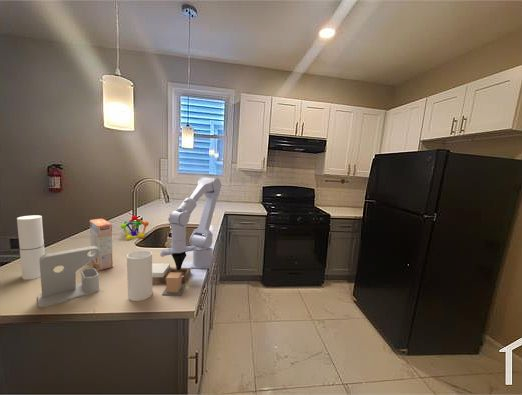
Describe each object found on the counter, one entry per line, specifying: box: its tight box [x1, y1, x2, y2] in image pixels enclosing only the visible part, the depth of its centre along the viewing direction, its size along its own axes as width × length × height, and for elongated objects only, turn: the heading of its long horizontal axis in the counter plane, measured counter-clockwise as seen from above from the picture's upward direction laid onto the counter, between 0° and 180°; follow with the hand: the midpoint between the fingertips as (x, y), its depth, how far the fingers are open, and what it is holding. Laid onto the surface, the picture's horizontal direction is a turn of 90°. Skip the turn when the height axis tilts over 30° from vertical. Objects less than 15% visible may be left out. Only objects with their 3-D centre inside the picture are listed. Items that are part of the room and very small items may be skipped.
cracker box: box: [89, 218, 114, 271], centre depth 109 cm, size 14×6×21 cm, turn 47°
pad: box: [161, 284, 186, 296], centre depth 92 cm, size 7×7×1 cm
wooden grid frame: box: [152, 266, 192, 285], centre depth 101 cm, size 18×10×2 cm, turn 94°
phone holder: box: [37, 245, 101, 309], centre depth 85 cm, size 17×10×18 cm, turn 135°
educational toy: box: [120, 215, 150, 241], centre depth 150 cm, size 16×13×15 cm
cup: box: [126, 249, 153, 302], centre depth 86 cm, size 8×8×16 cm
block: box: [165, 272, 183, 293], centre depth 91 cm, size 4×4×6 cm
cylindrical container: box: [16, 214, 46, 281], centre depth 95 cm, size 7×7×25 cm
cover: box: [152, 262, 171, 277], centre depth 100 cm, size 9×9×2 cm
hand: (178, 269), depth 101 cm, fingers closed
